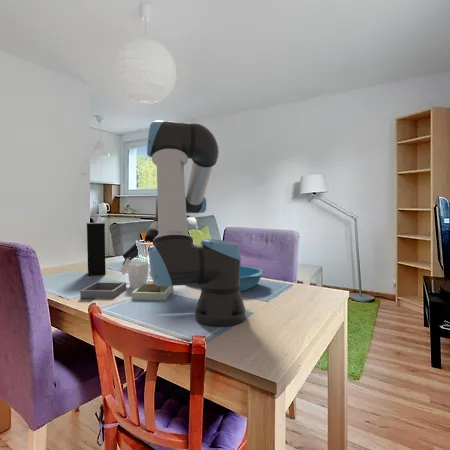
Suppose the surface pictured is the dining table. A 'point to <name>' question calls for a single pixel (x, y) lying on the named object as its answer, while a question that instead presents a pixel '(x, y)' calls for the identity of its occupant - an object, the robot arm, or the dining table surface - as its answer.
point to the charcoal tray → (102, 290)
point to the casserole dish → (249, 277)
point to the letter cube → (152, 287)
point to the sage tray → (151, 293)
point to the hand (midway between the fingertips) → (136, 274)
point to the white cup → (137, 274)
